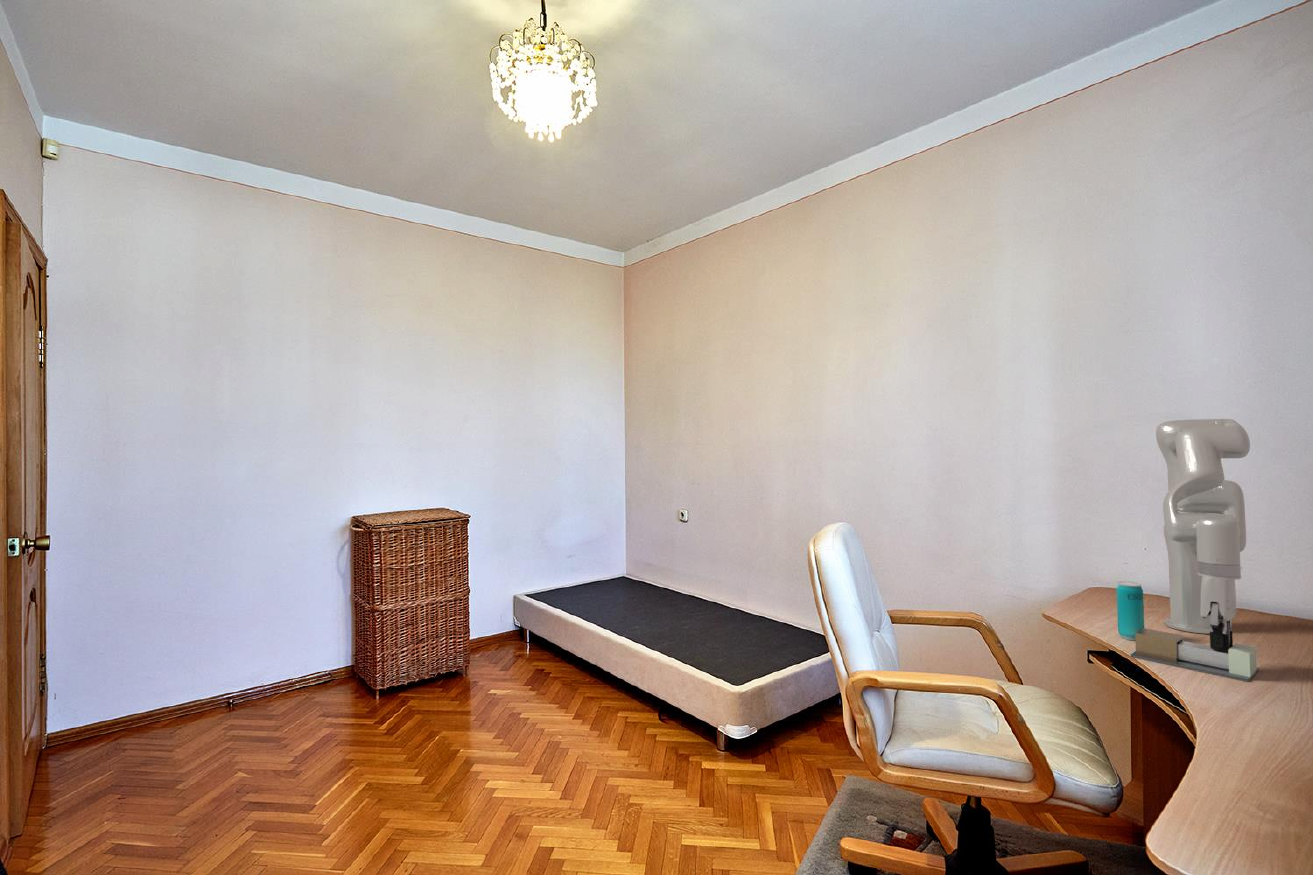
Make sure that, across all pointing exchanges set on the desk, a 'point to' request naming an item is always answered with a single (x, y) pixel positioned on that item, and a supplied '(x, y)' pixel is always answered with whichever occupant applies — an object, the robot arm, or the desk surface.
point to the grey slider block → (1203, 653)
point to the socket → (1242, 660)
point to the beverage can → (1130, 609)
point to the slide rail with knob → (1172, 653)
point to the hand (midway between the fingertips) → (1221, 647)
